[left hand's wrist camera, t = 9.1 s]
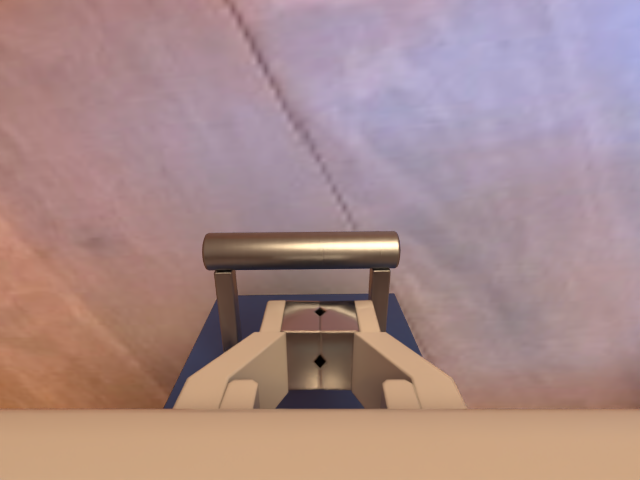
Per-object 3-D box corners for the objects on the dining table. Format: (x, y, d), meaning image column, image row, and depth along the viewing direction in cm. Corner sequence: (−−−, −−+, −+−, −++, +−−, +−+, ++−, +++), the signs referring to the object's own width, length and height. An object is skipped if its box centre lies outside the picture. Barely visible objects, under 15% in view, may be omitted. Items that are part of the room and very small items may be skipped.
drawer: (205, 192, 17) (102, 276, 8) (402, 190, 17) (490, 271, 9) (239, 476, 24) (201, 677, 15) (379, 473, 24) (415, 669, 16)
